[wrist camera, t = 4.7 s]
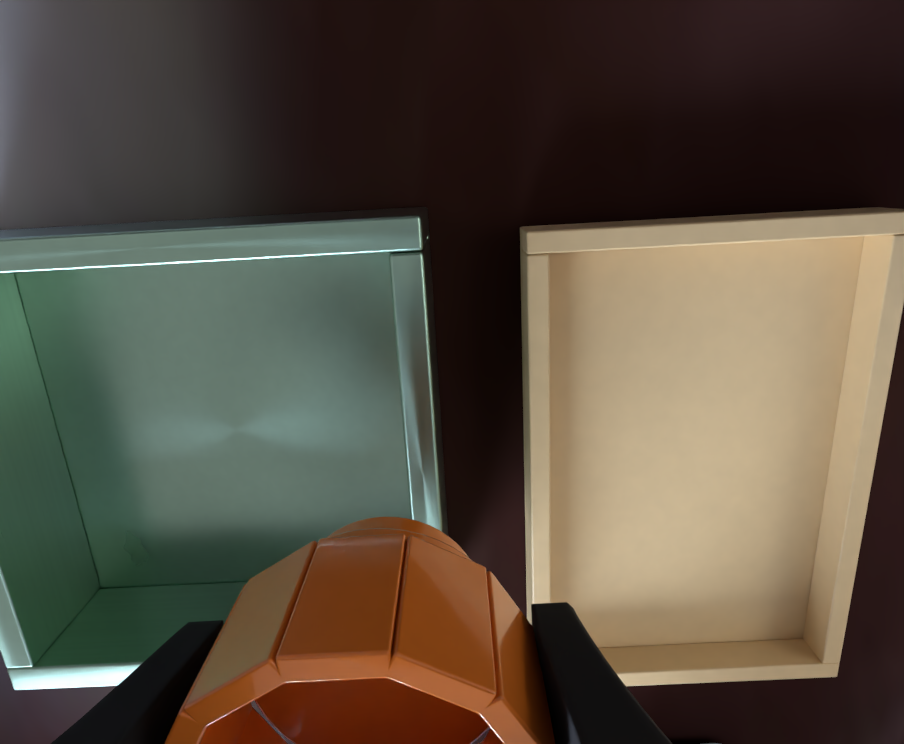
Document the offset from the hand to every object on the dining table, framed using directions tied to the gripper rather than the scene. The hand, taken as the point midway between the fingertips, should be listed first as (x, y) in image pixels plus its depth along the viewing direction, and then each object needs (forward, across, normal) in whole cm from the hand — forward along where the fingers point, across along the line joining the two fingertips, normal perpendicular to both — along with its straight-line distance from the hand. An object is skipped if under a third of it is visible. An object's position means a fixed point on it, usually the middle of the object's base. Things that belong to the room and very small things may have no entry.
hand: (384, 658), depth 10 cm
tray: (+9, -9, +1) cm, 13 cm away
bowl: (+2, 0, 0) cm, 2 cm away
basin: (+9, +5, -1) cm, 11 cm away
